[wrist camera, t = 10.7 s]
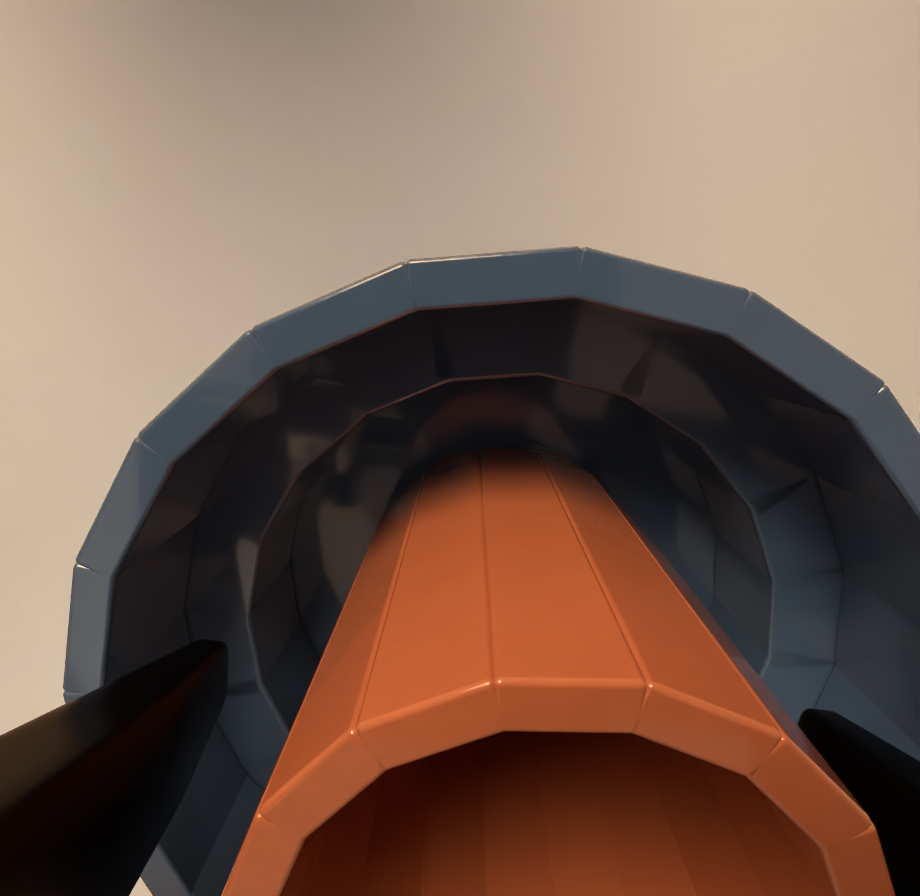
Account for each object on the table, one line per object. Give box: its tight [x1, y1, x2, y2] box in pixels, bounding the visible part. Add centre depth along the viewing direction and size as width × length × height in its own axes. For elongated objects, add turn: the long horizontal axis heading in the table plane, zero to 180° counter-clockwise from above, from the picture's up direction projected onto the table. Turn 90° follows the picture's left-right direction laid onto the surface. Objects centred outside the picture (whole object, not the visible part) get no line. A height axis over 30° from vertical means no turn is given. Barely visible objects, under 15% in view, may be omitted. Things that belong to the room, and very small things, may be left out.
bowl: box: [63, 246, 920, 896], centre depth 11 cm, size 13×13×6 cm
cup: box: [221, 446, 896, 896], centre depth 9 cm, size 6×6×8 cm
